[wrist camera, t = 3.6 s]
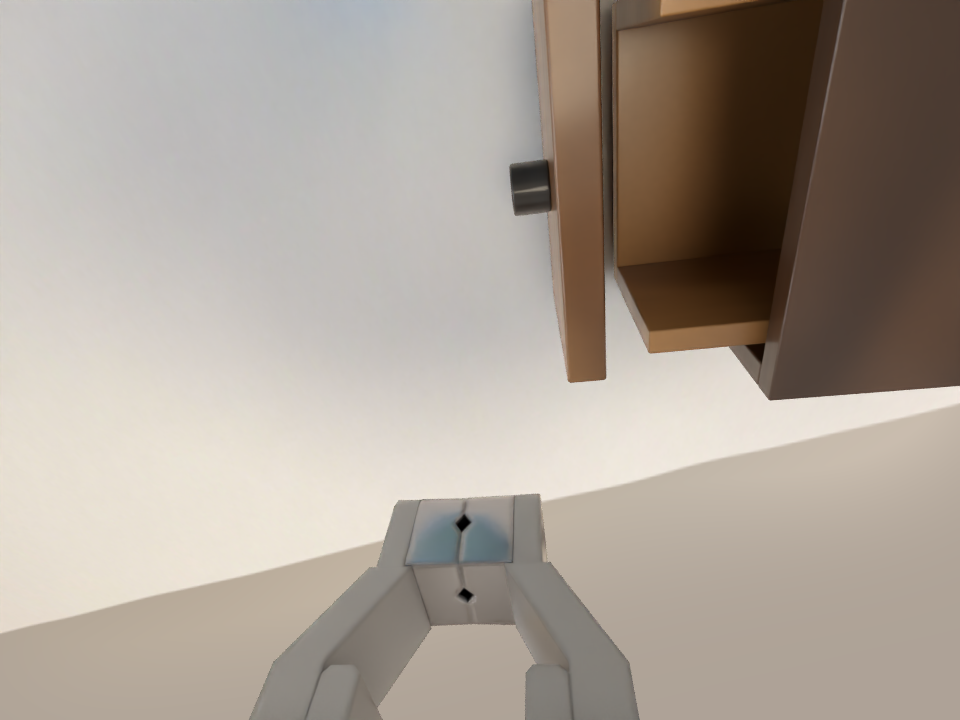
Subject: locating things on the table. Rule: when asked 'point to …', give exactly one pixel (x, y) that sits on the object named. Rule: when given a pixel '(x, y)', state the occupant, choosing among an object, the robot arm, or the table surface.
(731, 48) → the wooden drawer
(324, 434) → the table surface
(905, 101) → the cabinet
